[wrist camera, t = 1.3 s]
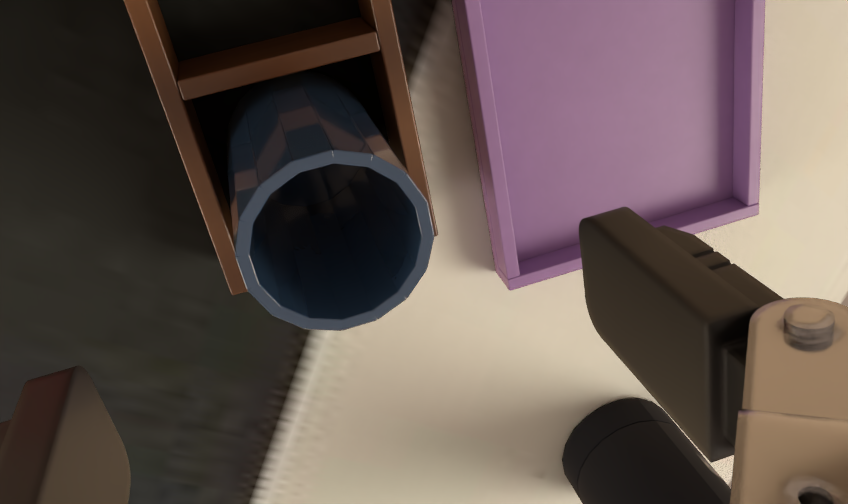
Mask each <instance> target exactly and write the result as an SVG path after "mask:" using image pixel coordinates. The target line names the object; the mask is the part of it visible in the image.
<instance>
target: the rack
mask: <svg viewBox="0 0 848 504" xmlns="http://www.w3.org/2000/svg"><path fill="white" fill-rule="evenodd" d="M123 1H124V4H125V6H126V9H127V12H128V14H129V17H130V20H131V23H132V25H133V28H134V31H135V33H136V36H137V39H138V42H139V44H140V47H141V50H142V53H143V55H144V58H145V61H146V63H147V66H148V69H149V72H150V74H151V77H152V80H153V83H154V85H155V88H156V91H157V93H158V96H159V99H160V102H161V104H162V107H163V110H164V112H165V115H166V118H167V121H168V123H169V126H170V129H171V132H172V134H173V137H174V140H175V142H176V145H177V148H178V151H179V153H180V156H181V159H182V161H183V164H184V167H185V170H186V172H187V175H188V178H189V181H190V183H191V186H192V189H193V191H194V194H195V197H196V200H197V202H198V205H199V208H200V210H201V213H202V216H203V219H204V221H205V224H206V227H207V230H208V232H209V235H210V238H211V240H212V243H213V246H214V249H215V251H216V254H217V257H218V260H219V262H220V265H221V268H222V270H223V273H224V276H225V279H226V281H227V284H228V287H229V289H230V292H231V294H232V295H236V294H239V293H242V292H246V291H248V290H247V289H246V287H245V284H244V281H243V278H242V275H241V273H240V270H239V267H238V264H237V261H236V258H235V251H234V239H233V227H232V215H231V212H230V209H229V206H228V203H227V200H226V197H225V195H224V192H223V189H222V186H221V183H220V180H219V177H218V174H217V171H216V169H215V166H214V163H213V160H212V157H211V154H210V151H209V148H208V145H207V143H206V140H205V137H204V134H203V131H202V128H201V125H200V122H199V119H198V117H197V114H196V111H195V108H194V105H193V102H192V99H194V98H198V97H201V96H205V95H209V94H213V93H217V92H221V91H225V90H229V89H233V88H237V87H241V86H245V85H248V84H252V83H256V82H260V81H264V80H268V79H272V78H276V77H280V76H284V75H288V74H292V73H296V72H299V71H303V70H307V69H311V68H315V67H319V66H323V65H327V64H331V63H335V62H339V61H343V60H347V59H350V58H354V57H358V56H362V55H366V54H370V58H371V63H372V67H373V72H374V76H375V81H376V85H377V90H378V94H379V99H380V103H381V108H382V112H383V117H384V121H385V126H386V130H387V135H388V139H389V144H390V146H391V148H392V149H393V151H394V152H395V154H396V155H397V157H398V158H399V160H400V161H401V162H402V164H403V165H404V167H405V168H406V170H407V171H408V173H409V174H410V176H411V177H412V179H413V180H414V182H415V183H416V185H417V186H418V187H419V189H420V190H421V192H422V193H423V195H424V196H425V198H426V199H427V202H428V205H429V210H430V214H431V219H432V224H433V229H434V236H437V235H438V231H437V226H436V221H435V216H434V211H433V207H432V202H431V197H430V192H429V187H428V182H427V177H426V172H425V167H424V162H423V157H422V152H421V147H420V142H419V137H418V132H417V127H416V122H415V117H414V112H413V107H412V102H411V97H410V92H409V87H408V82H407V77H406V72H405V67H404V62H403V58H402V53H401V48H400V43H399V38H398V33H397V28H396V23H395V18H394V13H393V8H392V3H391V0H358V4H359V9H360V13H361V17H357V18H353V19H349V20H345V21H341V22H336V23H332V24H328V25H324V26H320V27H316V28H312V29H308V30H304V31H300V32H296V33H292V34H288V35H284V36H280V37H276V38H272V39H268V40H264V41H260V42H256V43H252V44H248V45H244V46H240V47H236V48H232V49H227V50H223V51H219V52H215V53H211V54H207V55H203V56H199V57H195V58H191V59H187V60H183V61H180V62H178V59H177V56H176V53H175V50H174V47H173V44H172V41H171V39H170V36H169V33H168V30H167V27H166V24H165V21H164V18H163V15H162V13H161V10H160V7H159V4H158V1H157V0H123Z"/></svg>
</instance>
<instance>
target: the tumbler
mask: <svg viewBox="0 0 848 504" xmlns="http://www.w3.org/2000/svg"><path fill="white" fill-rule="evenodd" d="M226 157H227V169H228V180H229V192H230V204H231V215H232V227H233V239H234V251H235V258H236V261H237V264H238V267H239V270H240V273H241V275H242V278H243V281H244V284H245V287H246V289H247V290H248V292H249V293H250V294H251V295H252V296H253V297H254V298H255V299H256V300H257V301H258V302H259V303H260V304H261V305H262V306H263V307H264V308H265V309H266V310H267V311H268V312H269V313H270V314H271V315H273V316H275V317H277V318H280V319H282V320H284V321H287V322H289V323H291V324H294V325H296V326H299V327H301V328H303V329H311V330H337V331H341V330H346V329H349V328H353V327H356V326H359V325H362V324H366V323H369V322H372V321H376V320H377V319H379V318H381V317H382V316H384V315H385V314H386V313H388V312H389V311H390V310H392V309H393V308H395V307H396V306H397V305H399V304H400V303H402V302H403V301H404V300H406V298H408V296H409V295H410V293H411V292H412V290H413V289H414V288H415V286H416V285H417V283H418V282H419V280H420V279H421V277H422V276H423V274H424V273H425V271H426V269H427V267H428V263H429V258H430V254H431V249H432V245H433V240H434V229H433V224H432V219H431V214H430V210H429V205H428V202H427V199H426V198H425V196H424V195H423V193H422V192H421V190H420V189H419V187H418V186H417V185H416V183H415V182H414V180H413V179H412V177H411V176H410V174H409V173H408V171H407V170H406V168H405V167H404V165H403V164H402V162H401V161H400V160H399V158H398V157H397V155H396V154H395V152H394V151H393V149H392V148H391V146H390V145H389V143H388V142H387V140H386V139H385V137H384V136H383V135H382V133H381V132H380V130H379V129H378V127H377V126H376V124H375V123H374V121H373V120H372V118H371V117H370V115H369V114H368V113H367V111H366V110H365V108H364V107H363V106H362V104H361V103H360V102H359V100H358V99H357V98H356V96H355V95H354V94H353V93H352V92H351V91H350V90H349V89H348V88H347V87H345V86H344V85H343V84H341V83H340V82H338V81H336V80H334V79H332V78H330V77H328V76H325V75H322V74H319V73H315V72H309V71H299V72H296V73H292V74H288V75H284V76H280V77H276V78H272V79H268V80H264V81H261V82H260V83H258V84H257V85H255V86H254V87H253V88H252V89H250V90H249V91H248V92H247V93H246V94H245V95H244V96H243V98H242V99H241V100H240V101H239V103H238V104H237V106H236V108H235V110H234V112H233V114H232V116H231V119H230V122H229V125H228V131H227V148H226Z"/></svg>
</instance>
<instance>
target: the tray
mask: <svg viewBox="0 0 848 504" xmlns="http://www.w3.org/2000/svg"><path fill="white" fill-rule="evenodd" d="M451 1H452V7H453V13H454V19H455V25H456V31H457V37H458V43H459V50H460V56H461V62H462V68H463V74H464V80H465V86H466V92H467V98H468V104H469V111H470V117H471V123H472V129H473V135H474V141H475V147H476V153H477V159H478V165H479V172H480V178H481V184H482V190H483V196H484V202H485V208H486V214H487V220H488V227H489V233H490V239H491V245H492V251H493V257H494V263H495V269H496V273H497V274H498V276H499V277H500V278H501V279H502V281H503V282H504V284H505V285H506V286H507V288H508V289H509V290H514V289H517V288H520V287H523V286H527V285H530V284H533V283H536V282H540V281H543V280H546V279H549V278H553V277H556V276H559V275H563V274H566V273H569V272H572V271H576V270H579V269H582V260H581V251H580V241H579V224H580V221H581V220H582V219H583V218H586V217H590V216H593V215H597V214H600V213H603V212H607V211H610V210H614V209H617V208H620V207H628V208H630V209H631V210H632V211H634V212H635V213H636V214H638V215H639V216H640V217H642V218H643V219H644V220H646V221H647V222H648V223H650V224H651V225H652V226H653V227H655V228H656V227H660V226H663V225H665V226H668V227H671V228H674V229H678V230H681V231H684V232H687V233H690V234H696V233H700V232H703V231H706V230H709V229H713V228H716V227H719V226H722V225H726V224H729V223H732V222H735V221H739V220H742V219H745V218H748V217H752V216H755V215H758V214H759V186H760V154H761V121H762V88H763V55H764V23H765V0H451Z"/></svg>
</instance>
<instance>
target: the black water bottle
mask: <svg viewBox="0 0 848 504" xmlns="http://www.w3.org/2000/svg"><path fill="white" fill-rule="evenodd" d="M562 461H563V467H564V472H565V475H566V477H567V478H568V480H569V482H570V483H571V485H572V486H573V488H574V490H575V491H576V493H577V495H578V496H579V498H580V500H581V501H582V503H583V504H730V496H731V489H730V488H729V486H728V485H727V484H726V483H725V481H724V480H723V479H722V478H721V477H720V476H719V474H718V473H717V472H716V471H715V470H714V469H713V467H712V466H711V465H710V464H709V463H708V462H707V460H706V459H705V458H704V457H703V456H702V455H701V453H700V452H699V451H698V450H697V449H696V447H695V446H694V445H693V444H692V443H691V442H690V440H689V439H688V438H687V437H686V436H685V435H684V433H683V432H682V431H681V430H680V429H679V428H678V426H677V425H676V424H675V423H674V422H673V421H672V419H671V418H670V417H669V416H668V415H667V414H666V412H665V411H664V410H663V409H662V408H660V407H659V406H657V405H656V404H654V403H653V402H651V401H646V400H642V399H637V398H635V399H624V400H618V401H615V402H613V403H610V404H607V405H604V406H602V407H600V408H599V409H597V410H596V411H594V412H593V413H591V414H590V415H588V416H587V417H586V418H585V419H584V420H583V421H582V422H581V423H580V424H579V425H578V426H577V427H576V428H575V429H574V430H573V432H572V434H571V436H570V438H569V439H568V441H567V443H566V445H565V449H564V454H563V459H562Z"/></svg>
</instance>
